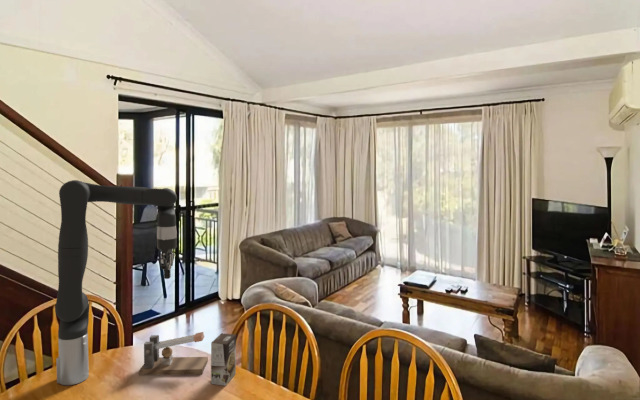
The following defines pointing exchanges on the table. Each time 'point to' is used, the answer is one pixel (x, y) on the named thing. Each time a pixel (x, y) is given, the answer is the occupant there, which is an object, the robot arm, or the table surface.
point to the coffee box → (223, 359)
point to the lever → (179, 341)
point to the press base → (177, 366)
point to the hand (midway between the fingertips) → (167, 278)
